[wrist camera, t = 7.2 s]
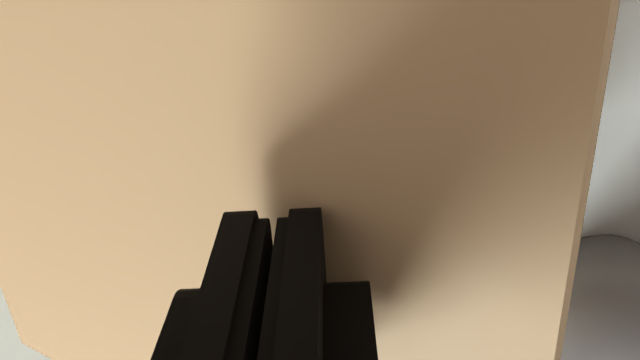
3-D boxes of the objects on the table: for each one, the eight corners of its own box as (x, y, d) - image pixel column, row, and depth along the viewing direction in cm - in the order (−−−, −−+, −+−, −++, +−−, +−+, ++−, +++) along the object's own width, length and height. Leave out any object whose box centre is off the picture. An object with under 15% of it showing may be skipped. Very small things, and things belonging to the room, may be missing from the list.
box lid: (645, -152, 6) (636, -153, 6) (524, 576, 12) (513, 614, 11) (-105, -95, 14) (-142, -92, 13) (43, 328, 20) (21, 342, 19)
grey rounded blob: (673, 232, 27) (755, 319, 21) (646, 339, 30) (713, 440, 24) (530, 237, 27) (577, 324, 22) (518, 342, 30) (556, 442, 25)
